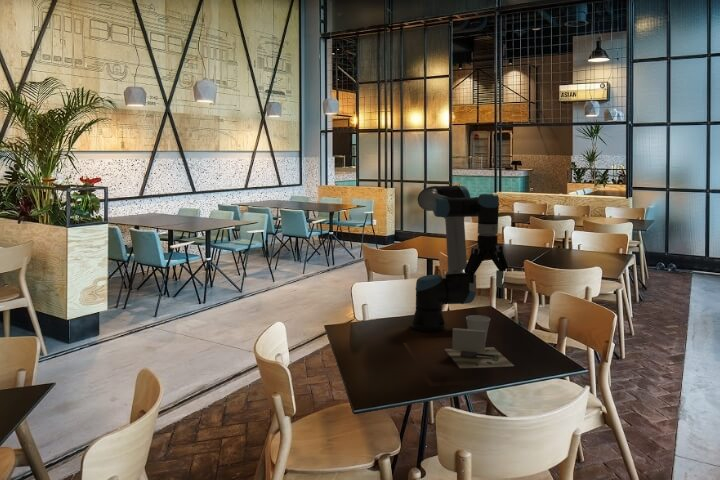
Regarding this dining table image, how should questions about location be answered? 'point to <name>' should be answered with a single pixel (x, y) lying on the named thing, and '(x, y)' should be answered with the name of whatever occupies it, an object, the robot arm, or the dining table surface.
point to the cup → (478, 323)
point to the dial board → (480, 359)
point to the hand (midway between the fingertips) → (485, 289)
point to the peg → (469, 342)
